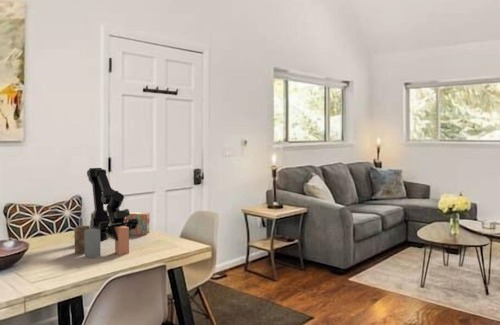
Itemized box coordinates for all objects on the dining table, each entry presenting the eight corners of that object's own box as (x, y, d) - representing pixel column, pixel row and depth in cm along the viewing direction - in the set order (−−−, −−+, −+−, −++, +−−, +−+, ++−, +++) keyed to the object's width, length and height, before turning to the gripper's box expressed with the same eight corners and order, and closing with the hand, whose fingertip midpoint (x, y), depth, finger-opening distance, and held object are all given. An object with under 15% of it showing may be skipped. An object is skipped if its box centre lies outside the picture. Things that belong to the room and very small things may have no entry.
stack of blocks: (109, 234, 249) (109, 213, 248) (113, 232, 255) (113, 211, 255) (147, 235, 249) (147, 213, 248) (149, 232, 255) (149, 212, 255)
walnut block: (74, 253, 208) (74, 227, 207) (80, 250, 213) (79, 225, 212) (84, 253, 207) (84, 228, 207) (89, 251, 212) (89, 225, 212)
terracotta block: (115, 252, 210) (114, 226, 210) (125, 251, 213) (124, 225, 213) (118, 254, 206) (118, 228, 206) (129, 253, 209) (128, 227, 209)
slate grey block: (84, 256, 203) (84, 229, 203) (94, 254, 207) (94, 228, 206) (90, 258, 200) (90, 231, 199) (100, 255, 204) (100, 229, 203)
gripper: (99, 205, 206) (107, 232, 198) (136, 202, 217) (146, 227, 209) (94, 219, 213) (102, 246, 205) (130, 215, 224) (139, 240, 216)
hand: (123, 239), depth 208 cm, fingers open, 5 cm apart
